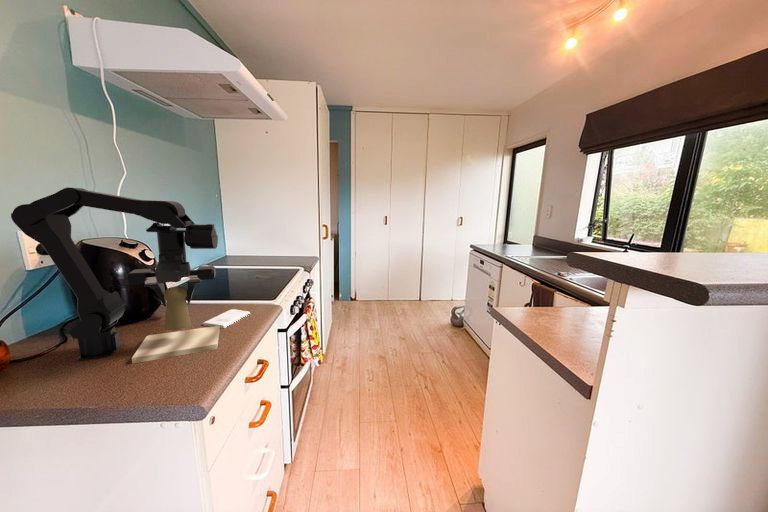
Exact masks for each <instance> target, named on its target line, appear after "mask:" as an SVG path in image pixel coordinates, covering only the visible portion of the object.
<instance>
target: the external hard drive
mask: <svg viewBox="0 0 768 512" xmlns="http://www.w3.org/2000/svg"><path fill="white" fill-rule="evenodd" d="M248 314H250V315H251V312H250V311H249V310H248V311H247V310H240V309H234V308H231V309H229V310H227V311H224V312H223V313H220V314H218V315H216V316H214V317H212V318H210V319H208V320H206V321H204V322H202V326H204V327H213V326H219V327H220V329H223V328H224V329H226V328H228V327H229V325H230V326H232V325H233V324H235V323H237V322H239V321H241V320H242V319H241V318H243V317H245V316H246V317H248V316H249V315H248ZM247 315H248V316H247ZM246 317H245V318H246ZM240 319H241V320H240ZM243 319H244V318H243ZM238 320H239V321H238ZM236 321H237V322H236ZM234 322H235V323H234ZM227 326H228V327H227Z"/></svg>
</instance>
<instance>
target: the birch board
mask: <svg viewBox="0 0 768 512" xmlns="http://www.w3.org/2000/svg"><path fill="white" fill-rule="evenodd" d="M220 330H221V328H220V327H219V326H213V327H211V326H205V327H199V328H193V329H191V328H190V329H186V330H179V331H177V330H176V331H172V332H164V333H158V334H157V333H156V334H149V335H146V337H145V338H144V339H143V341H142V342H141V344H140V345H139V346H138V348H137V350H136V351H135V353H134V354H133V355H132V357H131V363H132V364H139V363H144V362H151V361H155V360H156V361H157V360H163V359H168V358H173V357H179V356H185V355H191V354H196V353H203V352H209V351H213V350H218V345H219V338H220V332H221V331H220Z"/></svg>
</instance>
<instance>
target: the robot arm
mask: <svg viewBox="0 0 768 512" xmlns="http://www.w3.org/2000/svg"><path fill="white" fill-rule="evenodd" d="M84 207H87V208H93V209H100V210H104V211H105V210H106V211H112V212H116V213H117V212H119V213H123V214H124V213H125V214H130V215H131V214H132V215H136V216H139V217H141V218H142V219H143V218H144V219H146V220H149V221H151V222H153V223H152V224H151V225H150V226H149V227H148V228H146V229H145V231H146V232H147V233H156V239H157V248H158V262H157V264H156V267H155V270H154V271H152V269H151V268H140V269H139V268H137V269H133V270H132V271H130V272H129V273H127V274H126V276H125V284H126V286H132V285H135V286H136V285H143V286H144V287H145V288H146V287H147V288H148V287H149V288H150V289H152V290H153V291H154V293H155V294H156V295H157V297H158V298H159V300H160V302H161V303H162V305H163V307H166V306H167V300H166V299H165V297H164V292H165V290H166V289H165V283H178V282H181V281H182V278H188V281H187V291H188V294H187V297H186V298H187V299H186V303H187V305H190V304H191V300H192V298H193V294H194V290H195V287H197V286H196V285H197V284H200V283H201V282H202V281H205V280H206V281H207V280H214V279H215V278H216V275H217V271H216V267H215V266H214V265H203V266H202V265H201V266H198V268H197V269H191V265H190V261H187V252H186V246H187V247H189V248H190V249H191V250H195V249H196V250H210V249H211V250H212V249H213V250H216V249H217V247H218V240H219V239H218V238H219V235H218V234H217V230H216V228H215V224H214V223H207V224H200V223H199V224H197V223H195V222H194V221H193V220H192V219H191V218H190V216H188V215H187V213H186V209H185V207H184V206H183V205H182V203H180V202H178V201H174V200H145V199H143V200H142V199H138V198H133V197H127V196H123V195H122V196H120V195H115V194H110V193H103V192H97V191H93V190H92V191H91V190H88V189H85V188H81V187H65V188H64V187H63V188H62V189H60V190H58V191H56V192H55V193H53V194H50V195H47V196H44V197H42V198H39V199H36V200H33V201H32V202H30V203H25V204H20V205H17V206H16V207H15V208H13V211H12V213H10V218H11V220H12V222H13V223H14V224H15V225H16V227H17V228H19V229H20V231H22V233H23V234H24V235H26V236H27V237H28V238H30V239H32V240H33V241H35V242H37V243H39V244H40V245H42V247H43V248H44V250H45V251H46V253H47V254H48V256H49V257H50V259H51V261H52V262H53V264H54V266H56V268H57V270H58V271H59V272H60V274H61V276H62V277H63V279H64V280H65V281H66V283H67V284H68V286H69V287H70V289H71V291H72V292H73V293H74V295H75V297H76V299H77V304H76V312H77V315H78V317H79V320H80V321H79V322H78V323H77V324H76V325H74V327H72V328H71V329H70V330H69V331H68V333H69V335H70V336H71V338H72V339H73V340H77V344H78V349H79V356H78V357H77V358H76V361H80V362H81V361H85V360H92V359H97V358H104V357H110V356H112V355H114V353H115V352H116V351H117V349H118V348H119V347H120V346H121V342H120V337H119V336H120V334H119V332H118V331H116V326H115V325H117V324H118V322H119V319H120V318H121V317H123V315H124V313H125V311H126V308H125V305H126V302H124V301H123V300H122V298H121V296H120V293H119V292H118V291H117V290H116V291H114V292H112V293H111V292H109V291H107V290H105V289H104V287H102V285H101V283H100V281H99V280H98V279H97V277H96V276H95V274H94V272H93V271H92V269H91V268H90V266H89V264H88V262H87V261H86V259H85V258H84V256H83V255H82V253H81V252H80V250H79V248H78V247H77V245H76V244H75V242H74V240H73V238H72V222H71V221H70V218H71V217H72V216H73V215H74V216H75V214H77V213H78V212H79V211H81V209H82V208H84Z"/></svg>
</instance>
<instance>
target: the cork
mask: <svg viewBox="0 0 768 512" xmlns="http://www.w3.org/2000/svg"><path fill="white" fill-rule="evenodd" d="M187 294H188V288H186V287H184V286H170V287H167V288H166V289H165V292H164V297H165V299H166V300H167V306H165V307H166V309H165V319H164V327H163V328H164V330H166V331H177V330H179V331H180V330H182V329H187V328H188V327H190V326H191V325H192V321H191V317H190V313H189V312H190V311H189V308H188V302H187V299H186V298H187Z"/></svg>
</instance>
